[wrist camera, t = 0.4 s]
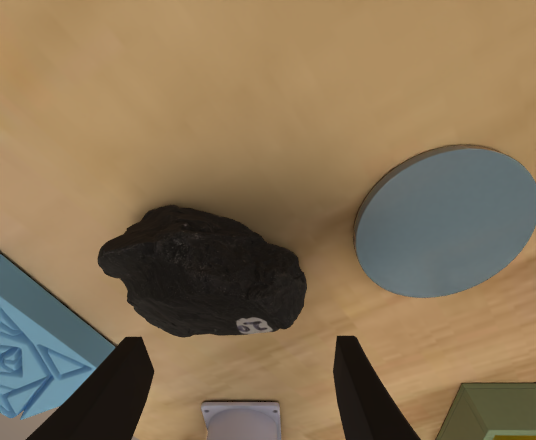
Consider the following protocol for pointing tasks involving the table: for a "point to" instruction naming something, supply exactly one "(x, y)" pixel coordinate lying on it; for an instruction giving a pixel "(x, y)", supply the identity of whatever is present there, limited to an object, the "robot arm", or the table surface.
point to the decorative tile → (41, 347)
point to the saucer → (445, 221)
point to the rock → (205, 274)
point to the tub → (491, 411)
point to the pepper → (514, 437)
